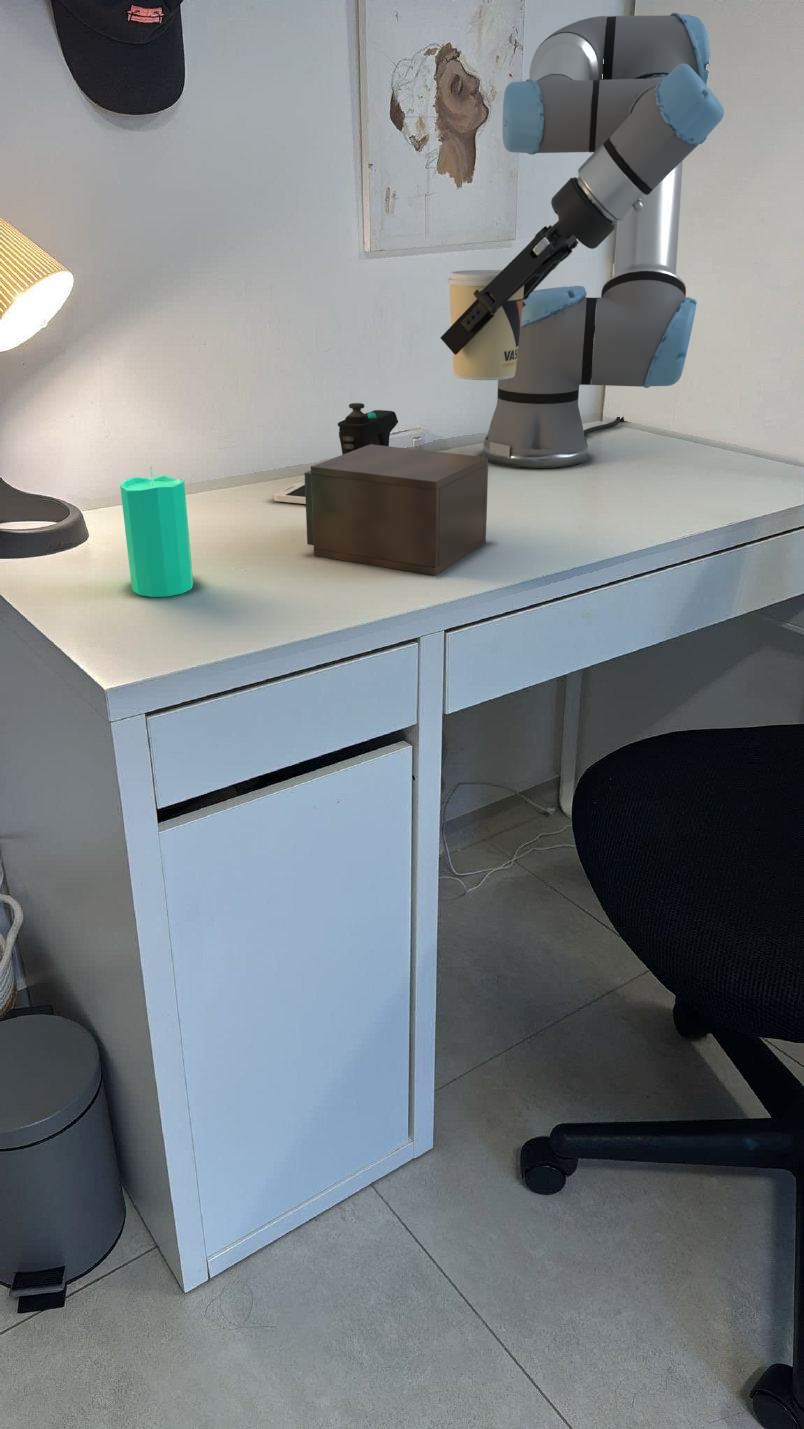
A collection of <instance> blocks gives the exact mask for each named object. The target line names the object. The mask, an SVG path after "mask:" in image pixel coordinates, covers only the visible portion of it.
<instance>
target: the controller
mask: <svg viewBox="0 0 804 1429" xmlns="http://www.w3.org/2000/svg"><path fill="white" fill-rule="evenodd" d="M348 404H349V405H348V408H349V409H351V410H352V411H351V412H350V413H349V414H348V415H346V417H345V419H344V420H341V421H339V422H337V426H338V427H339V428H338V431H339V432H338V438H339V442H340V447H341V455H343V454H346V453H349V452H351V451H354V450H357V449H359V448H362V447H365V446H368V445H370V444H372V445H381V446H390V435H391V433H392V431H393V430H394V429H395V427H396V426H397V425H398V423H399V420H398V416H397V414H396V412H395V411H394V410H385V409H384V410H382V409H374V410H372V411H368V412H365V413H364V412H363V411H362V409H364V408H365V404H364V403H362V402H352V403H348Z"/></svg>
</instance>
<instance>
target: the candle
mask: <svg viewBox="0 0 804 1429" xmlns="http://www.w3.org/2000/svg"><path fill="white" fill-rule="evenodd" d="M149 467H150V468H149V470H150V477H138V476H131V477H130V478H127V479H125V480H122V482H121V484H120V486H119V487H120V488H119V489H120V495H121V496H120V497H121V506H122V514H123V521H124V522H123V523H124V530H125V539H126V549H127V556H128V566H129V575H130V576H129V577H130V584H131V585H130V586H131V591H132V592H133V593H135V594H136V595H138V596H144V597H149V598H162V597H163V598H166V597H172V596H177V595H182V594H184V593H186V592H188V591H190V590H192V589H193V586H194V576H193V566H192V564H193V563H192V553H191V543H190V531H189V521H188V520H189V518H188V509H187V508H188V507H187V497H186V486H185V479H176V478H173V477H170V476H168V475H165V474H164V475H163V474H162V475H158V476H153V469H152V468H153V467H152V465H149Z"/></svg>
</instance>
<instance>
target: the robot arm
mask: <svg viewBox="0 0 804 1429" xmlns="http://www.w3.org/2000/svg"><path fill="white" fill-rule="evenodd" d="M691 15H692V14H681V13H679V12H672V13H671V14H668V15H612V16H611V15H609V16H607V15H599V16H593V17H592V16H591V17H587V18H584V19H580V20H577V21H575V22H574V21H573V22H572V23H569V24H568V25H566V26H563V27H562V28H559V29H557V30H556V31H554V32H553V33H551V34H550V35H548V36H547V37H546V38H545V39H544V40H543V41H542V42H541V43H540V44H539V45H538V47H537V48H536V50H535V52H534V54H533V56H532V60H531V62H530V67H529V78H528V79H526V80H520V81H512V82H509V83H508V84H507V86H506V87H505V88H504V93H503V101H502V102H503V103H502V143H503V147H504V148H505V150H506V151H508V152H509V153H517V154H519V153H520V154H528V155H531V156H533V155H535V154H557V153H558V154H559V153H563V154H564V153H592V154H591V155H590V156H589V157H588V158H587V159H586V160H585V161H584V162H583V163H582V165H580V166H579V168H577V175H578V177H570V178H569V179H568V180H567V182H566V183H565V184H563V186H561V188H560V189H559V190H558V191H557V192H556V193H555V194H554V195H553V196H552V197H551V201H550V204H551V208H552V211H553V212H554V213H555V214H556V215H557V217H558V218H557V219H558V221H556V222H555V223H554V224H553V225H551V224H550V225H548V226H547V225H545V226H544V227H542V228H541V229H540V230H539V231H538V232H536V234H535V235H534V237H533V238H532V240H531V241H530V242H529V243H528V244H527V245H526V246H525V247H524V248H523V249H522V250H521V251H520V252H519V253H518V254H517V255H516V256H515V257H514V258H513V259H512V260H511V261H510V262H509V263H508V264H507V265H506V266H505V267H504V268H503V269H501V270H502V271H501V272H500V273H499V274H498V275H497V276H496V277H495V278H494V279H493V280H492V281H491V282H490V283H489V284H488V285H487V286H486V287H485V288H484V289H483V290H481V291H480V292H479V291H478V289H477V290H476V291H475V292H474V293H473V294H474V296H475V297H476V298H477V299H476V301H475V302H474V303H473V304H472V305H471V306H470V307H469V308H468V309H467V310H466V311H465V312H464V313H463V314H462V315H461V316H460V317H459V318H458V320H457V321H456V322H455V323H454V324H453V325H452V326H451V325H450V327H449V328H448V329H447V330H446V331H445V332H444V333H443V334H442V335H441V336H440V340H441V341H442V342H443V343H444V344H445V345H446V347H447V348H448V349H449V350H450V351H451V352H452V354H453V353H454V354H455V355H456V354H458V352H459V351H460V350H461V349H462V348H463V347H464V346H465V345H466V344H467V343H468V342H469V341H470V340H471V339H472V338H473V337H474V336H475V335H476V334H477V333H478V332H479V331H480V330H481V329H482V328H483V327H484V326H485V325H486V324H487V323H488V322H489V321H490V320H491V319H492V317H493V316H494V314H495V313H496V312H497V310H498V309H499V308H500V307H501V306H502V305H503V304H504V303H505V302H506V301H507V300H509V299H510V298H511V297H512V296H513V295H514V294H515V293H516V292H517V291H518V290H519V289H520V288H521V287H523V286H524V294H523V305H522V316H521V326H520V335H519V345H518V355H517V364H516V372H515V376H514V377H513V378H509V379H502V380H497V398H496V405H495V409H494V412H493V414H492V418H491V420H490V424H489V428H488V432H487V435H486V436H485V438H484V441H483V444H482V445H483V446H482V457H488V462H491V463H495V464H497V465H502V466H507V467H515V468H527V469H528V468H529V469H551V468H563V467H564V468H565V467H570V466H576V465H579V464H581V463H584V462H585V461H587V459H588V451H589V444H588V440H587V438H586V437H585V436H588V435H589V434H592V433H594V432H599V431H603V430H607V429H611V428H614V427H617V426H618V425H619V424H620V423H625V418H624V416H623V417H622V418H621V419H620V417H617V416H616V418H615V419H614V420H613V421H611V422H608V423H603V424H600V425H595V426H591V427H589V428H586V429H584V427H583V426H584V425H583V420H582V415H581V412H580V407H579V396H580V394H579V393H580V386H606V387H607V386H608V387H609V386H610V387H611V386H613V387H615V386H616V387H640V388H641V387H643V388H644V389H648V388H650V387H670V386H673V385H675V384H677V383H678V382H679V381H680V379H681V377H682V374H683V372H684V367H685V363H686V359H687V354H688V350H689V345H690V341H691V336H692V331H693V325H694V321H695V315H696V310H697V300H696V299H695V298H692V297H689V296H688V297H687V286H686V283H685V281H684V280H683V279H682V278H680V276H678V275H677V263H678V261H677V260H678V246H679V231H680V230H679V228H680V213H681V212H680V211H681V199H682V198H681V196H682V181H683V180H682V179H683V166H684V165H683V161H684V160H685V159H686V158H687V157H688V156H689V155H690V154H691V153H692V152H693V151H694V150H695V149H696V148H697V147H698V146H699V145H702V144H703V143H705V141H706V140H707V137H708V136H709V135H710V134H711V133H712V132H713V130H714V129H715V128H716V127H717V126H718V125H719V124H720V123H721V121H722V120H723V118H724V116H725V115H724V114H725V110H724V109H725V108H724V107H723V104H722V103H721V102H720V101H719V99H718V97H717V96H716V95H715V94H714V92H712V90H711V88H710V87H709V88H708V87H707V85H706V84H707V83H706V82H707V79H708V73H709V71H708V70H706V65H707V64H709V58H710V59H711V48H710V49H709V42H710V38H709V39H708V34H707V31H706V29H705V26H704V24H703V23H702V22H701V20H700V19H699V18H697V17H695V16H691ZM709 50H710V52H709ZM709 54H710V55H709ZM603 59H604V64H603ZM709 65H710V64H709ZM602 74H603V79H602ZM616 222H617V223H616ZM615 229H616V234H615V235H616V236H615V246H614V263H613V264H614V265H613V275H612V276H611V277H609V278H608V279H607V280H606V281H605V282H604V284H603V285H602V288H601V291H600V292H601V293H600V294H601V295H600V296H599V297H587V292H588V291H586V287H584V286H582V285H574V286H573V285H572V286H571V285H570V286H557V287H550V288H543V289H541V288H540V289H537V288H538V286H539V285H540V284H541V283H543V281H544V280H545V279H546V278H547V277H548V276H549V275H550V274H551V272H553V271H554V270H555V269H556V268H557V267H558V265H559V264H560V263H561V262H563V261H565V260H566V259H567V258H568V257H570V255H572V253H573V250H574V249H575V248H577V246H578V244H579V242H580V244H582V245H583V246H585V247H586V248H588V249H590V250H593V249H596V248H598V247H599V246H600V244H601V243H602V242H603V241H605V240H606V239H607V238H608V237H609V235H611V234H612V233H613V232H614V230H615ZM490 294H491V295H492V296H493V297H494V298H495V300H494V299H493V298H492V297H491V296H490Z"/></svg>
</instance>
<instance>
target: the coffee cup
mask: <svg viewBox="0 0 804 1429" xmlns="http://www.w3.org/2000/svg"><path fill="white" fill-rule="evenodd" d="M502 270H503V269H472V270H471V269H470V270H469V269H468V270H456V271H451V273H450V277H449V278H448V279H447V284H449V308H450V327H451V326H452V325H453V324H454V323H455V322H456V321H457V320H458V318H459V317H460V316H461V315H462V314H463V313H464V312H465V311H466V310H467V309H468V308H469V307H470V306H471V305H472V304H473V303H474V302H475V301H476V299H477V298H476V297H475V296H474V294H473V293H474V292H475V291H476V290H477V289H478V291H479V292H480V291H481V290H483V289H484V288H485V287H486V286H487V285H488V284H489V283H490V282H491V281H492V280H493V279H494V278H495V277H496V276H497V275H498V274H499V273H500V272H501V271H502ZM523 294H524V286H523V287H521V288H520V289H519V290H518V291H517V292H516V293H515V294H514V295H513V296H512V297H511V298H510V299H509V300H507V301H506V302H505V303H504V304H503V305H502V306H501V307H500V308H499V309H498V310H497V312H496V313H495V314H494V316H493V317H492V319H491V320H490V321H489V322H488V323H487V324H486V325H485V326H484V327H483V328H482V329H481V330H480V331H479V332H478V333H477V334H476V335H475V336H474V337H473V338H472V339H471V340H470V341H469V342H468V343H467V344H466V345H465V346H464V347H463V348H462V349H461V350H460V351H459V352H458V354H456V355H455V354H454V353H453V352H452V367H453V368H452V370H453V376H454V377H455V378H457V379H462V380H470V381H498V380H502V379H509V378H513V377H514V376H515V372H516V364H517V355H518V345H519V335H520V326H521V316H522V305H523ZM490 296H491V297H492V298H493V299H494V300H495V298H494V297H493V296H492V295H491V294H490Z"/></svg>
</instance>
